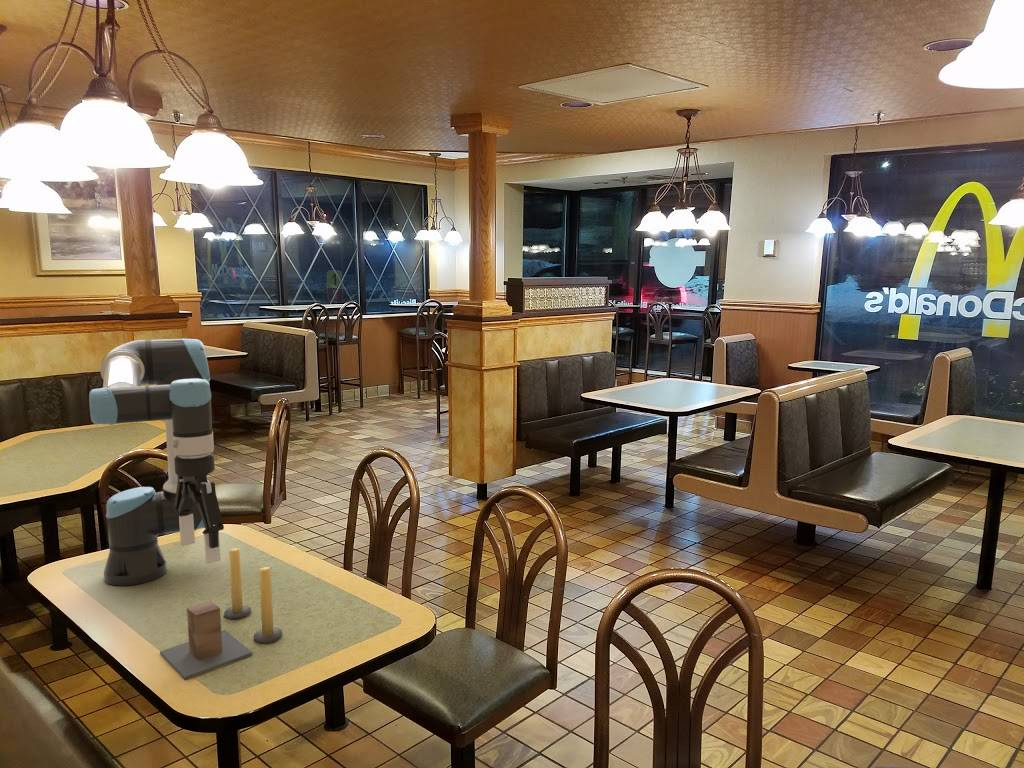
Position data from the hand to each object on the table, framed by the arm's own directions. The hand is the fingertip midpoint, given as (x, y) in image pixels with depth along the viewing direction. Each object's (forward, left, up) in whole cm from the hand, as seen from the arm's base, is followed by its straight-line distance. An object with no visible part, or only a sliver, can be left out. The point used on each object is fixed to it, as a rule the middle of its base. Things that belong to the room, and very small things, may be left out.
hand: (200, 553), depth 149 cm
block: (0, 0, -22) cm, 22 cm away
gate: (-6, +13, -23) cm, 27 cm away
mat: (0, 0, -23) cm, 23 cm away
